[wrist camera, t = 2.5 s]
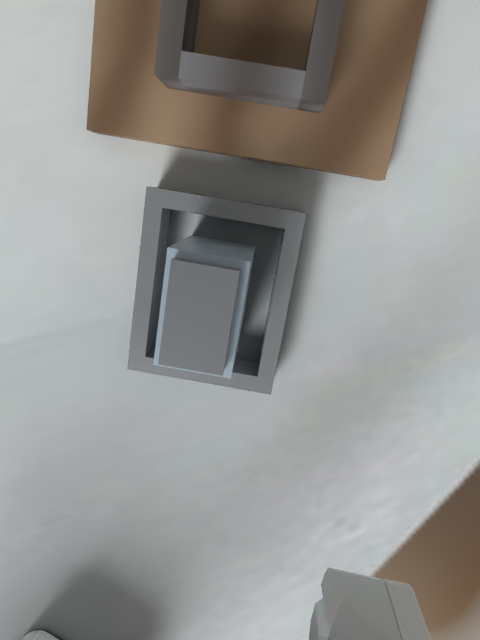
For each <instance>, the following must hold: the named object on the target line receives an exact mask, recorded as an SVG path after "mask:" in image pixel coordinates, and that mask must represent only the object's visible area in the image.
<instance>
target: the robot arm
mask: <svg viewBox="0 0 480 640" xmlns="http://www.w3.org/2000/svg"><path fill="white" fill-rule="evenodd" d="M321 586H322V595H323V598H322V599H321V600H320V601H318V602H317V603H315V607H314V611H313V614H312V618H311V625H310V633H309V640H431V638H430V635H429V632H428V629H427V627H426V624H425V621H424V618H423V616H422V613H421V610H420V608H419V605H418V602H417V599H416V596H415V594H414V591H413V589H412V587H411V586H410V585H409V584H406V583H401V582H397V581H392V580H387V579H379V578H374V577H370V576H365V575H360V574H356V573H351V572H346V571H342V570H337V569H332V568H328V569H327V571H326V572H325V574H324V578H323V581H322V584H321Z"/></svg>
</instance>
